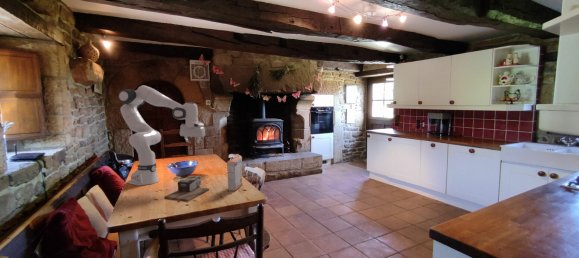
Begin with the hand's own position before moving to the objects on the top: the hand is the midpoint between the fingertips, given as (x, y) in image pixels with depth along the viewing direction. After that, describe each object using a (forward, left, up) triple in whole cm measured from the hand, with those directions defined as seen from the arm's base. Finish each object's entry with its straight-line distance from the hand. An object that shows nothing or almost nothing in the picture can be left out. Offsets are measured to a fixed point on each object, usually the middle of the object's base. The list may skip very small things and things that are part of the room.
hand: (192, 142), depth 205 cm
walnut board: (+12, -23, -31) cm, 40 cm away
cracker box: (+36, -2, -31) cm, 47 cm away
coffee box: (+6, -6, -27) cm, 28 cm away
